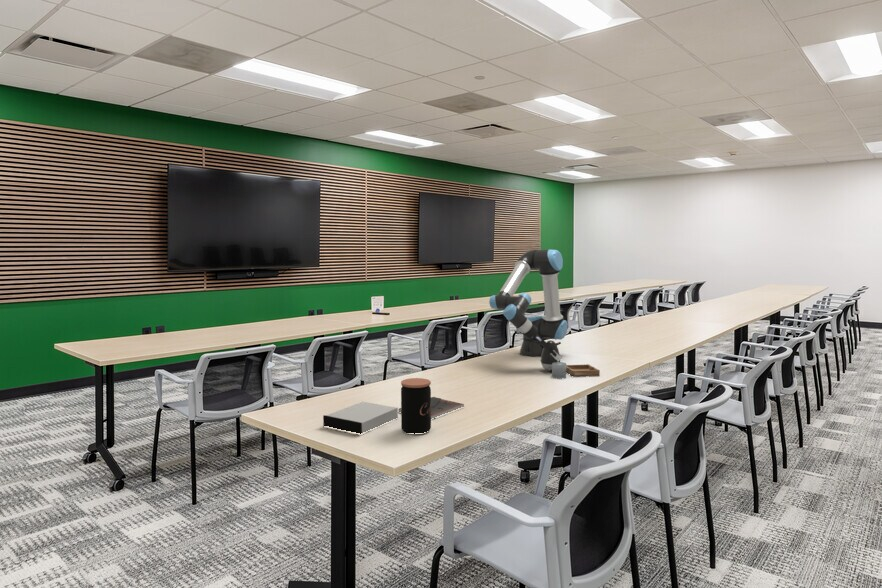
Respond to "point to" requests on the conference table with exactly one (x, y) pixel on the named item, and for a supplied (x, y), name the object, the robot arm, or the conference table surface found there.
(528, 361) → the conference table surface
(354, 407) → the disc drive
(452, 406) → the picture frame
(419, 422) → the coffee jar
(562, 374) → the grey round-ended cylinder
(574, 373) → the tray
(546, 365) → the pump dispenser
